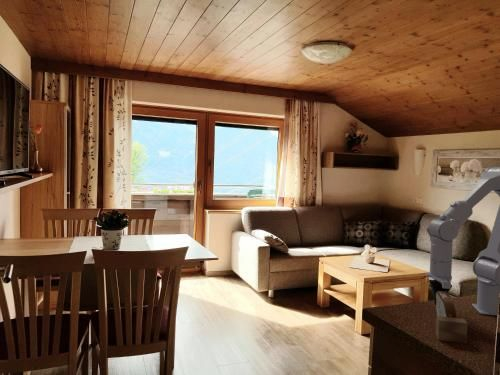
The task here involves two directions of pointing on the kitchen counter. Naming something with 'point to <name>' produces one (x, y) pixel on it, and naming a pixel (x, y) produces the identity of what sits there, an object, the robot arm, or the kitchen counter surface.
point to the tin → (445, 305)
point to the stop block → (451, 329)
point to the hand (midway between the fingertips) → (439, 305)
